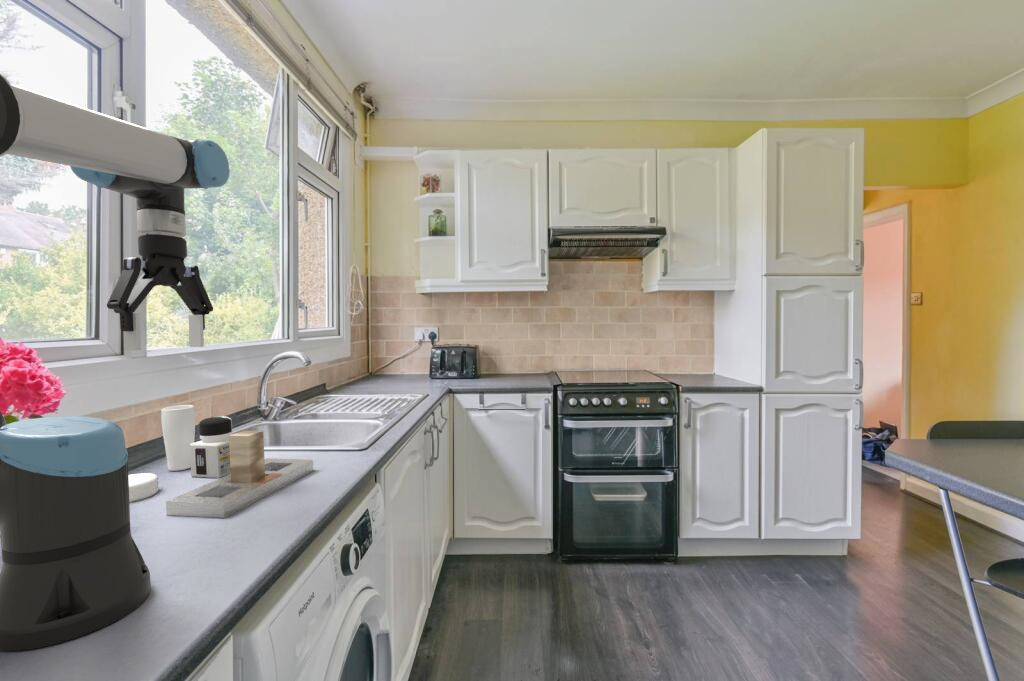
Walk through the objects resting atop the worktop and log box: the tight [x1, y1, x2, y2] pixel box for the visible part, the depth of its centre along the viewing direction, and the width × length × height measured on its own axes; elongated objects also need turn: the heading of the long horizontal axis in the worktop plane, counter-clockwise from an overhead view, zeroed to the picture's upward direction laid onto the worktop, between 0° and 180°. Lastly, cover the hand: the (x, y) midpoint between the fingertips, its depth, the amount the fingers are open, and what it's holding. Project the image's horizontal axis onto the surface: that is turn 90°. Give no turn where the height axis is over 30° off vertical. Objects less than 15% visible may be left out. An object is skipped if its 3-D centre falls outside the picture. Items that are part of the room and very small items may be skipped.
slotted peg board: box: [165, 458, 314, 519], centre depth 103 cm, size 28×12×3 cm, turn 170°
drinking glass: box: [160, 404, 196, 472], centre depth 120 cm, size 7×7×15 cm
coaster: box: [128, 472, 160, 503], centre depth 101 cm, size 10×10×4 cm
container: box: [190, 416, 233, 479], centre depth 116 cm, size 8×8×13 cm
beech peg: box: [229, 430, 266, 483], centre depth 103 cm, size 4×4×12 cm
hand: (167, 348), depth 94 cm, fingers open, 13 cm apart
